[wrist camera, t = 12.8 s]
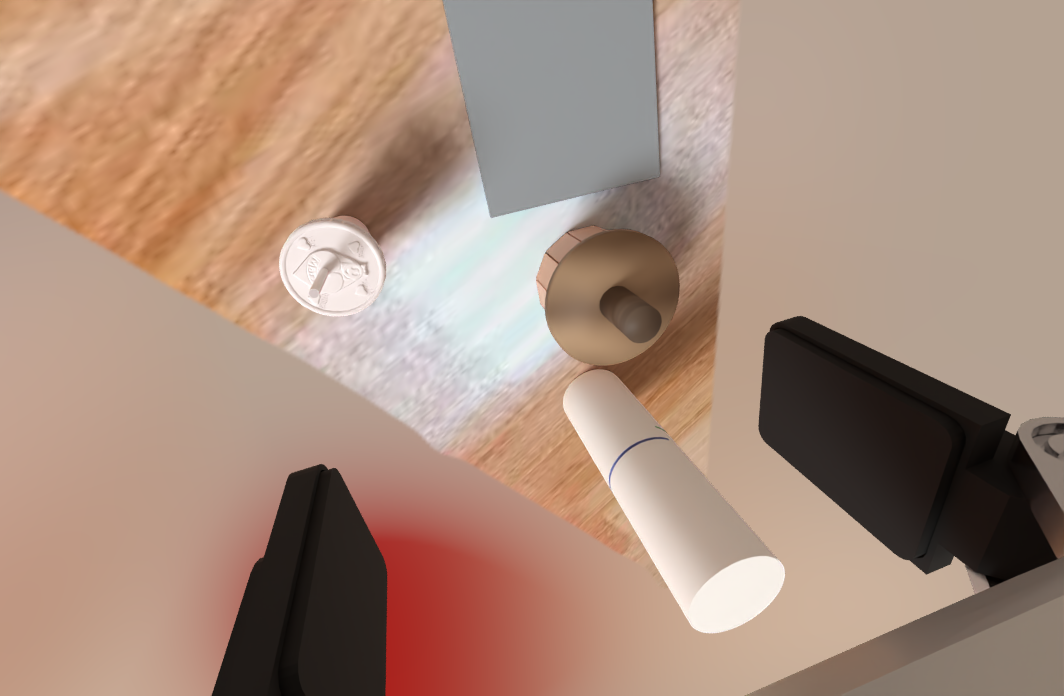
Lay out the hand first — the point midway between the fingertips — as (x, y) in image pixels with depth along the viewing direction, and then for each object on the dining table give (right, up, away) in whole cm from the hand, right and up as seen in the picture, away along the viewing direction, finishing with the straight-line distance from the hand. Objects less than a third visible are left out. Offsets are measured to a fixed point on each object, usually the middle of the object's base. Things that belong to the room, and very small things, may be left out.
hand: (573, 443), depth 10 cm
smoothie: (-16, +11, +28) cm, 34 cm away
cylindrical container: (+6, -3, +42) cm, 43 cm away
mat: (+2, +23, +28) cm, 36 cm away
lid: (+6, +6, +30) cm, 31 cm away
